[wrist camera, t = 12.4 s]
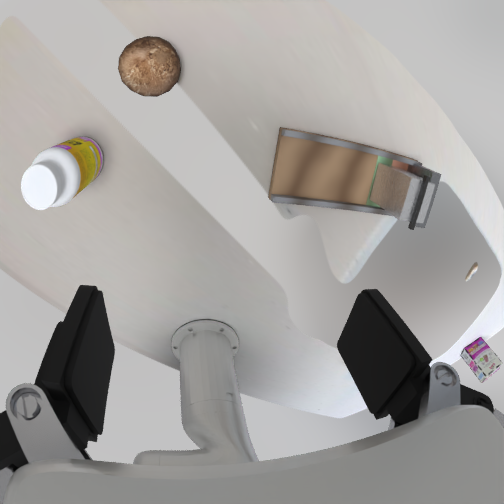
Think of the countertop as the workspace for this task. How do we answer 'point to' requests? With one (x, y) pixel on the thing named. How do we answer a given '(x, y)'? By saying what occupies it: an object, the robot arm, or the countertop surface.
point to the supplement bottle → (61, 173)
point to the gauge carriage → (402, 193)
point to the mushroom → (149, 66)
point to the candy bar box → (481, 359)
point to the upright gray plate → (433, 179)
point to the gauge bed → (328, 171)
